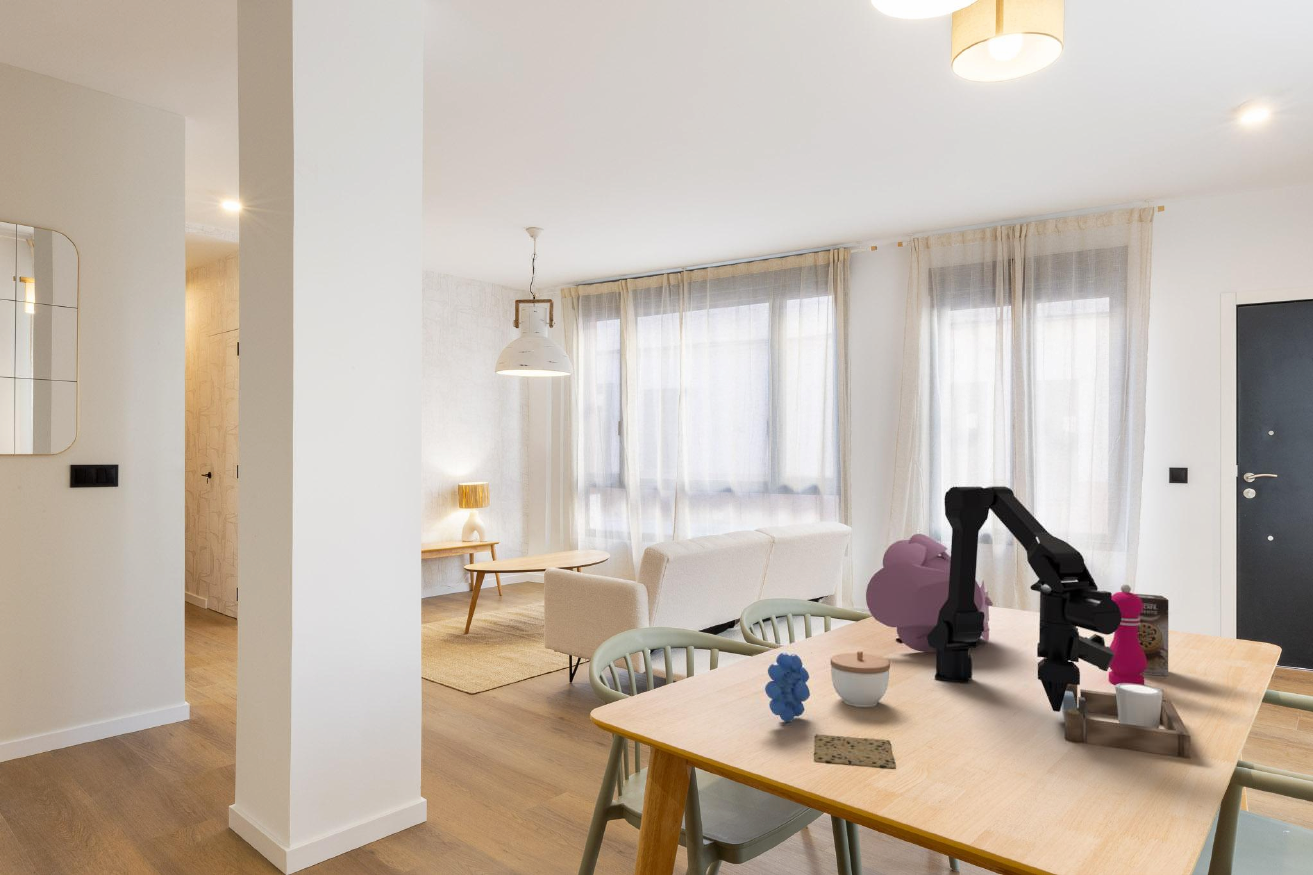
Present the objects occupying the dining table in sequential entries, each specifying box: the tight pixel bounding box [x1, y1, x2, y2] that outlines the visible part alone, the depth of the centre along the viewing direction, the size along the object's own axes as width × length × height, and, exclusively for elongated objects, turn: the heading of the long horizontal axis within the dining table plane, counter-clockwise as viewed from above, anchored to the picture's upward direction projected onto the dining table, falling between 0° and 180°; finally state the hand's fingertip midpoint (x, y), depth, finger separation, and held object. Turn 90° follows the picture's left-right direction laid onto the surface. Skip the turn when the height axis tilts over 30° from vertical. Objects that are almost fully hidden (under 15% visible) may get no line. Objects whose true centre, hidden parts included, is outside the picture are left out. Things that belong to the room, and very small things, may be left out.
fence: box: [1064, 684, 1192, 759], centre depth 133 cm, size 17×21×5 cm
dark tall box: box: [1115, 591, 1169, 677], centre depth 170 cm, size 9×6×16 cm
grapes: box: [764, 652, 811, 723], centre depth 134 cm, size 12×7×12 cm, turn 136°
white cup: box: [1114, 683, 1163, 729], centre depth 132 cm, size 7×7×7 cm
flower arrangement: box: [865, 533, 994, 653], centre depth 194 cm, size 35×24×28 cm
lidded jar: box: [830, 650, 891, 708], centre depth 146 cm, size 11×11×9 cm
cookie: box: [813, 733, 897, 770], centre depth 122 cm, size 12×12×1 cm
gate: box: [1061, 691, 1078, 723], centre depth 136 cm, size 2×14×3 cm, turn 156°
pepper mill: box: [1108, 584, 1147, 686], centre depth 160 cm, size 7×7×20 cm
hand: (1056, 710), depth 137 cm, fingers closed
